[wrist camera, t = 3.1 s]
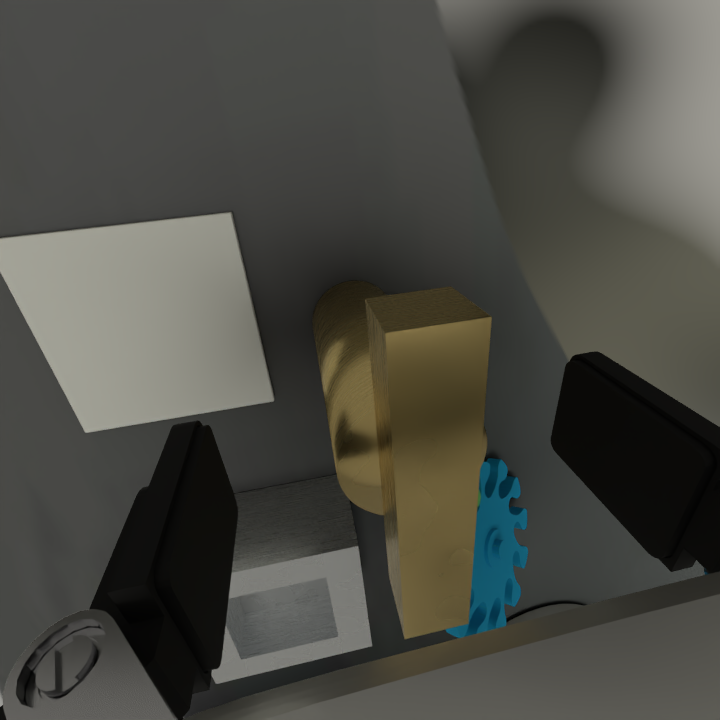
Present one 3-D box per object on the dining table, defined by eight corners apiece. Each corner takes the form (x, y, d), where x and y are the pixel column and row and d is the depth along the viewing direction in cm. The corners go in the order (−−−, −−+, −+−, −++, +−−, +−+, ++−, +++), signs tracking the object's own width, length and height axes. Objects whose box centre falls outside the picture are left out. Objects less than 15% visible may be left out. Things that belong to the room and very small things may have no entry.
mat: (231, 211, 16) (230, 212, 15) (274, 397, 20) (274, 401, 19) (-9, 238, 15) (-17, 240, 14) (89, 427, 19) (85, 432, 19)
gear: (549, 535, 27) (502, 694, 20) (471, 517, 31) (412, 644, 24) (498, 409, 23) (421, 558, 16) (417, 408, 27) (330, 527, 21)
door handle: (388, 218, 17) (553, 307, 6) (397, 392, 21) (506, 614, 11) (297, 229, 16) (316, 344, 6) (325, 404, 21) (364, 649, 10)
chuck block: (344, 473, 23) (358, 546, 19) (358, 568, 27) (372, 646, 23) (114, 516, 22) (71, 607, 17) (166, 610, 26) (142, 701, 21)
